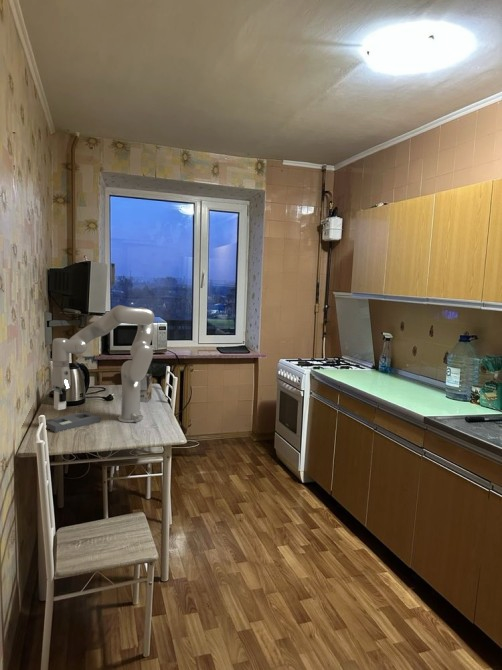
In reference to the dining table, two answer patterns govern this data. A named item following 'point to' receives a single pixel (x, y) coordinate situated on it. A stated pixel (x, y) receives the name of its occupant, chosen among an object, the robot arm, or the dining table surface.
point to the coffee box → (146, 388)
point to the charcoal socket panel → (72, 421)
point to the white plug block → (58, 404)
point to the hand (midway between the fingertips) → (60, 400)
